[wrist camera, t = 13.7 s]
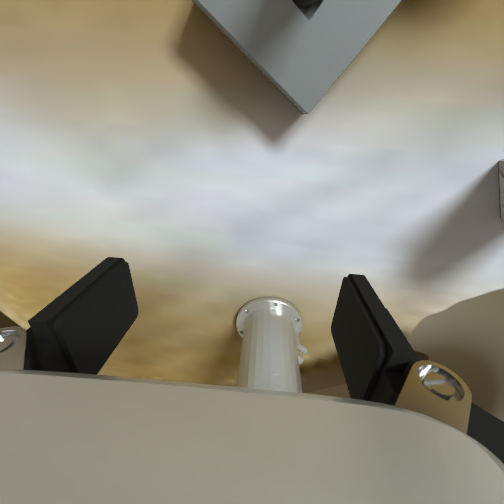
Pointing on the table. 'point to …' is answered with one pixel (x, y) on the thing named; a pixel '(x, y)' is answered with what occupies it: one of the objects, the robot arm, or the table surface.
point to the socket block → (299, 39)
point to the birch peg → (304, 3)
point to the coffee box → (501, 187)
